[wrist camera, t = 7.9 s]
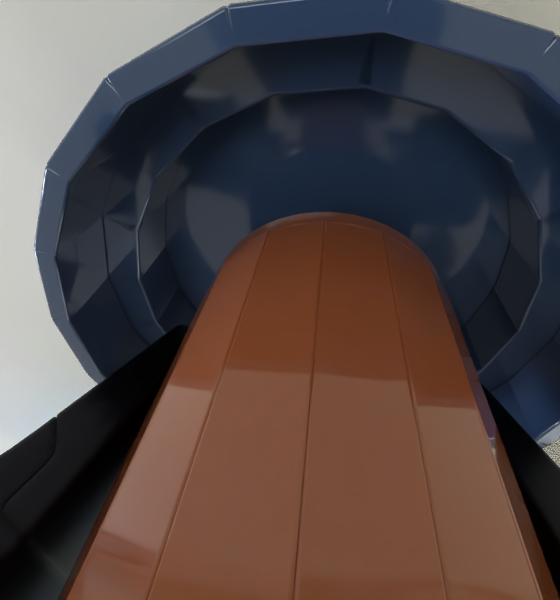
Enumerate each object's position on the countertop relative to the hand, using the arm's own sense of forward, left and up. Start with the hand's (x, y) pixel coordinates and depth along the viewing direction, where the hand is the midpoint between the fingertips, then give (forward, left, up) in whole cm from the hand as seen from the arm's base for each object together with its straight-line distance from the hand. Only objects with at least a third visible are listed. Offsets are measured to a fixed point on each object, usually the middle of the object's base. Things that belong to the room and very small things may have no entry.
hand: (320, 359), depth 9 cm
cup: (0, 0, -2) cm, 2 cm away
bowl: (0, 0, -5) cm, 5 cm away
